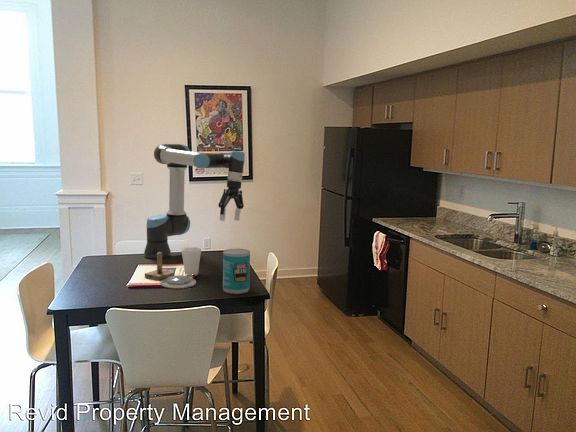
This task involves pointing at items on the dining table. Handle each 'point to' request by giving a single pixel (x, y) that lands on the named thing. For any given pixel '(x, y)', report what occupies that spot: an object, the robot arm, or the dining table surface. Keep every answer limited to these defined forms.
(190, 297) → the dining table surface
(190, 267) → the foam cup
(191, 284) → the grey plate
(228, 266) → the food can
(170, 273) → the stand
